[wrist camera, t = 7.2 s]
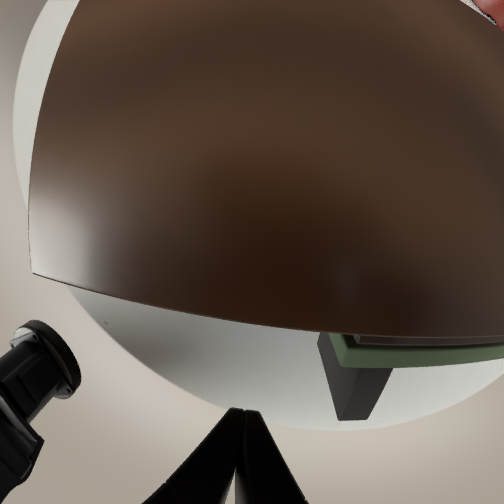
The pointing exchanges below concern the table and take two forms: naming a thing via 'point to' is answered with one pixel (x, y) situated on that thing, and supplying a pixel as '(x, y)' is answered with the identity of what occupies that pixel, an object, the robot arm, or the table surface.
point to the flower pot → (493, 10)
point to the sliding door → (383, 367)
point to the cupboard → (279, 164)
